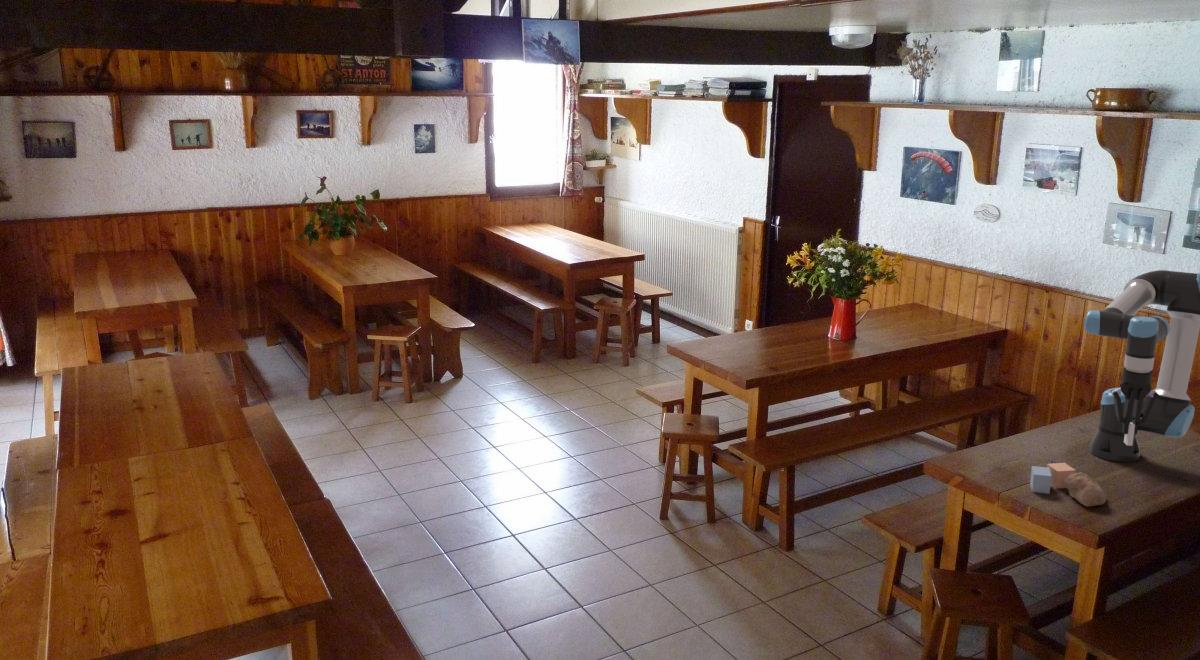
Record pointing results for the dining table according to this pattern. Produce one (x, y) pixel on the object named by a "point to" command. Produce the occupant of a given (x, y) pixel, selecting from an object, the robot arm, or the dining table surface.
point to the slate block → (1040, 479)
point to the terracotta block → (1059, 474)
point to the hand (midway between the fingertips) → (1127, 443)
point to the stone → (1085, 489)
